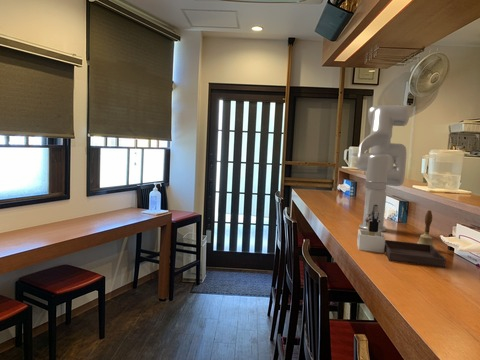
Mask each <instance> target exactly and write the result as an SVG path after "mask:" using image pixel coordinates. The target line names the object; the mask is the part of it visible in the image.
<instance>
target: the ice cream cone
mask: <svg viewBox="0 0 480 360" xmlns="http://www.w3.org/2000/svg"><path fill="white" fill-rule="evenodd" d="M372 218H373V216H372ZM365 221H366V222H367V227H368V235H369V236H374V235H375V232H370V231H369V223H370V221H371V214H369V215H367V218H366V219H365ZM379 223H380V220H379Z"/></svg>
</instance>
